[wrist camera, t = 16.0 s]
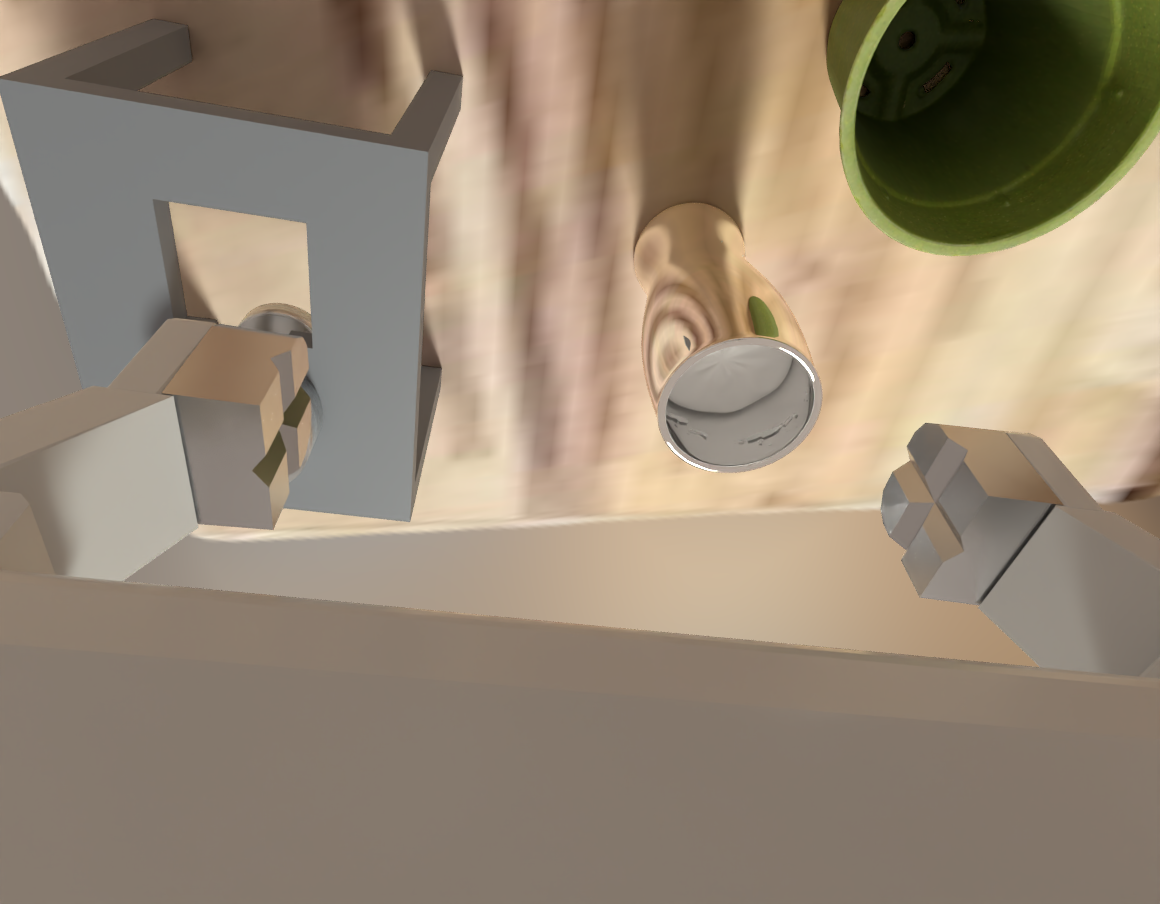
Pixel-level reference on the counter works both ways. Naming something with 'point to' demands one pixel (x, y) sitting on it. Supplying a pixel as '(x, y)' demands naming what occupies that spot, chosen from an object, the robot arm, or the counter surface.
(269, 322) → the steel peg
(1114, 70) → the plant pot
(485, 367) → the counter surface
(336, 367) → the keyhole stand
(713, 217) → the beer glass
